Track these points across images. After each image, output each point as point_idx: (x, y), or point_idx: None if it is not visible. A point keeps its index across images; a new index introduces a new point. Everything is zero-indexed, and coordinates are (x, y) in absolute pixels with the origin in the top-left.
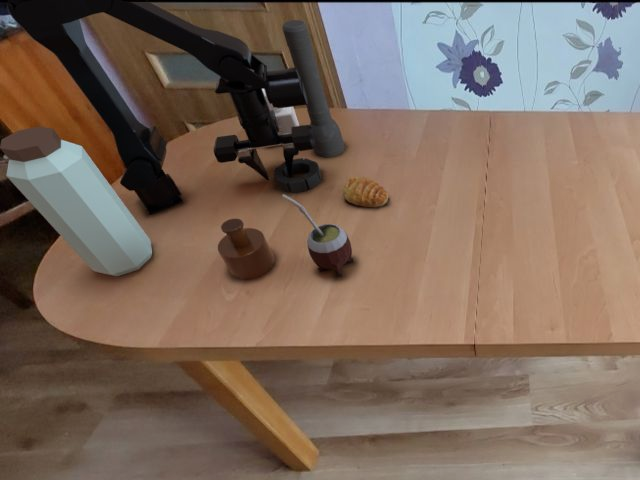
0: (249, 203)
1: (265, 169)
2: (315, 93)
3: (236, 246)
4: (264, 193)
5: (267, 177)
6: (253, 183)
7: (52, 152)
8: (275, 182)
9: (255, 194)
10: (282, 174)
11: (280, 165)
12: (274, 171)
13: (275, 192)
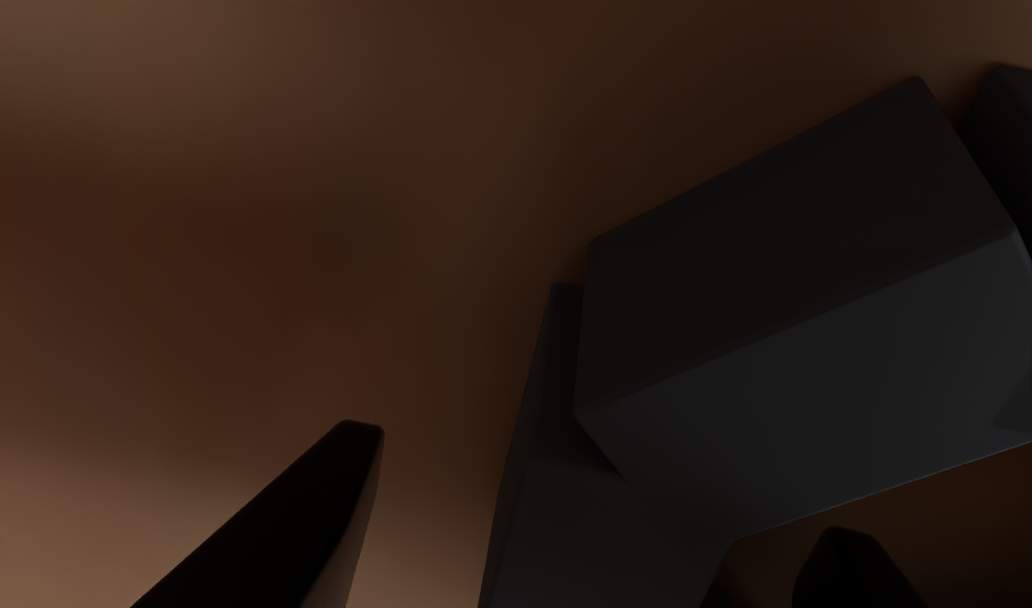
0: (72, 597)
1: (313, 596)
2: None
3: None
4: None
5: (344, 604)
6: (59, 173)
7: None
8: (482, 587)
9: (136, 477)
10: None
11: (759, 378)
12: (530, 519)
13: (444, 568)
